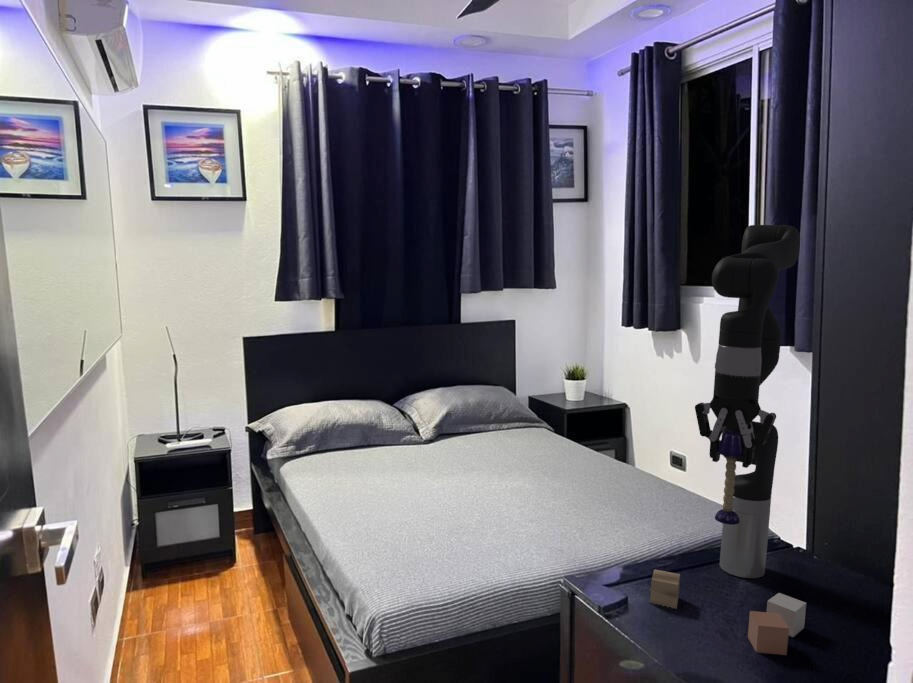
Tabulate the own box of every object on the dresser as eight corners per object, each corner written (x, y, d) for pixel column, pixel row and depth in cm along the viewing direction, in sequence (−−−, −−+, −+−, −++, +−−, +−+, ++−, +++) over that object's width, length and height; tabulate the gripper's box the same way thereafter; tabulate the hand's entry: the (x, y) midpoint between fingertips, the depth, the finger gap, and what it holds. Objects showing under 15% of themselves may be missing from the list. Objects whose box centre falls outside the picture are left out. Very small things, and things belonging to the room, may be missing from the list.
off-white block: (776, 617, 130) (778, 592, 130) (804, 628, 127) (806, 602, 126) (765, 626, 127) (767, 600, 126) (792, 637, 123) (795, 611, 123)
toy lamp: (742, 527, 122) (749, 436, 120) (714, 524, 123) (721, 434, 121) (736, 517, 127) (743, 429, 125) (710, 514, 128) (717, 427, 126)
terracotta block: (747, 637, 123) (749, 610, 122) (776, 639, 122) (779, 613, 122) (756, 652, 118) (758, 625, 117) (786, 655, 117) (789, 628, 117)
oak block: (652, 592, 139) (654, 569, 138) (678, 597, 137) (680, 574, 136) (650, 603, 134) (651, 579, 134) (676, 609, 132) (678, 584, 132)
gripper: (785, 373, 120) (777, 467, 122) (703, 364, 129) (697, 451, 131) (775, 378, 114) (767, 477, 116) (690, 368, 123) (684, 460, 125)
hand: (730, 463), depth 124 cm, fingers closed on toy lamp, 4 cm apart
